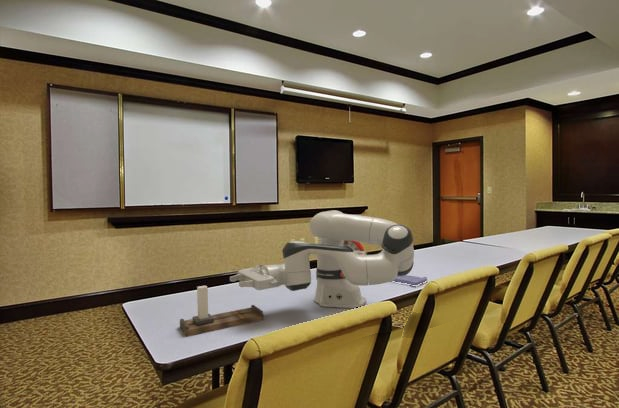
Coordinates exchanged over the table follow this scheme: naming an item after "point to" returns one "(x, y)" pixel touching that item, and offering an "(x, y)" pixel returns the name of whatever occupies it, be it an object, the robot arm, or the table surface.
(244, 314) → the fader track
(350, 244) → the toy clock
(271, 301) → the table surface
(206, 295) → the fader tab
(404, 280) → the computer part
